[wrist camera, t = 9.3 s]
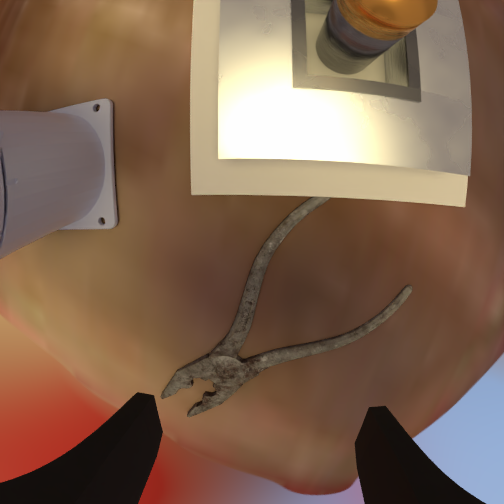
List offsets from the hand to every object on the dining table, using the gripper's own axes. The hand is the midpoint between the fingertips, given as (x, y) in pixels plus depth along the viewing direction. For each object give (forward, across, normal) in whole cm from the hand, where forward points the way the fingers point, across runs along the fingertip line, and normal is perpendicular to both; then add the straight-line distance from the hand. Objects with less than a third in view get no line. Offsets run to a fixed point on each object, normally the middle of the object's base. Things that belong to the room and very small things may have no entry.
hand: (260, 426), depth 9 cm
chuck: (+10, -4, -14) cm, 18 cm away
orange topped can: (+9, -4, -14) cm, 18 cm away
